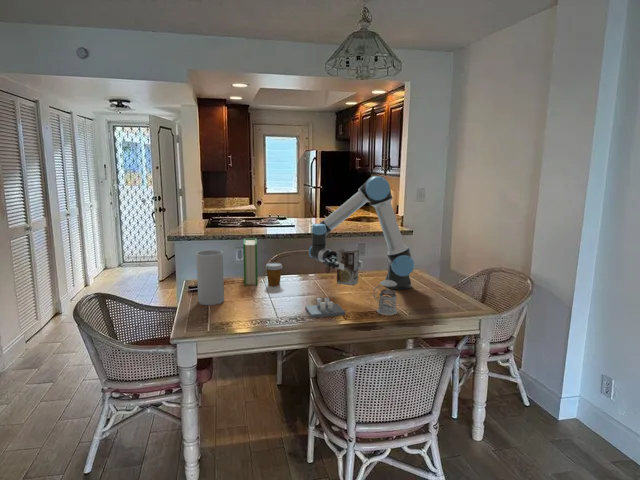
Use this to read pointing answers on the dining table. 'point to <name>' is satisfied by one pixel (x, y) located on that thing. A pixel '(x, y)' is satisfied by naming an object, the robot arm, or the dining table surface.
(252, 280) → the hardback book
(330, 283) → the dining table surface
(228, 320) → the dining table surface
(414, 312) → the dining table surface
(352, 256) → the coffee box
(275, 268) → the disposable coffee cup
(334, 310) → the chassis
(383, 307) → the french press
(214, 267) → the cylinder vase
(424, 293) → the dining table surface
